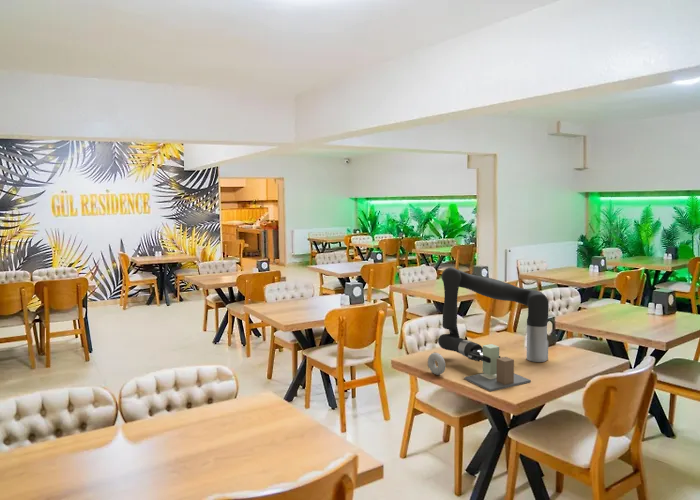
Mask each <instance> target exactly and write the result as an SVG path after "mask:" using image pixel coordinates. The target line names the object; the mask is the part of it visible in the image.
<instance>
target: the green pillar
mask: <svg viewBox="0 0 700 500" xmlns="http://www.w3.org/2000/svg"><path fill="white" fill-rule="evenodd" d="M482 348H483V355H484V356H486V357H489V358H491V363H487V362H485V361H482V373H486V374H488V375H494V374H497V358H499V356H500V346H498V345H496V344H493V343H490V344H484V345H482Z"/></svg>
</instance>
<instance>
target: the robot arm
mask: <svg viewBox="0 0 700 500" xmlns="http://www.w3.org/2000/svg"><path fill="white" fill-rule="evenodd" d="M441 281H442V282H443V291H444V300H443V301H444V302H443V308H442V324H441V325H442V328H444V329H445V330H448V331H449V333H444V334H443V333H442V334H441V335H440V336H438V339H437V342H438V345H439V347H440V348H441V349H443V350H446V351H451V352H456V353H458V354H460V355H462V356H463V357H465V358H467V359H468V360H472V361H474V362H475V361H476V362H480V361H481V362H483V361H485V362H487V363H491V358H489V357H486V356H484V355H483V345H481V344H480V343H477V342H473V341H472V340H467V339H464V338H462V337H460V333H459V329H458V295H459V288H463V289H467V290H470V291H471V292H474V293H475V294H479V295H481V296H484V297H487V298H491V299H494V300H497V301H505V302H506V301H507V302H508V301H509V302H515V303H518V304H521V305H523V306H527V308H528V309H527V319H526V360H527V361H529V362H533V363H544V362H547V360H549V339H548V320H549V310H550V309H549V308H550V307H549V306H550V304H549V299H548V297H547V296H546V295H545V294H544V293H543V292H542V291H539V290H535V289H528V288H524V287H518V286H515V285H513V284H511V283H509V282H504V281H502V280H498V279H494V278H491V277H486V276H482V275H475V274H474V275H473V274H470V273H467V272H464V271H462V270H459V269H458V268H455V267H452V266H451V267H447V268H445V269H444V270H443V271H442V272H441ZM499 358H501V355H499Z"/></svg>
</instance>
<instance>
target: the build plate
mask: <svg viewBox="0 0 700 500" xmlns="http://www.w3.org/2000/svg"><path fill="white" fill-rule="evenodd" d="M500 357H501V356H500ZM463 378H464V379H463V380H465V381H468V382H470V383H472V384H474V385H476V386H477V387H480V388H482V389H484V390H486V391H488V392H494V391H499V390H503V389H508V388H511V387H517V386H521V385H525V384H530V383H531V382H532V381H531V379H530V378H527V377H524V376H521V375H519V374H517V373H515V360H514V358H510V357H508V356H502V357H501V358H497V374H494V375H488V374H486V373H484V372H482V373H477V374H472V375H468V376H463Z"/></svg>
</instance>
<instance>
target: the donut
mask: <svg viewBox="0 0 700 500" xmlns="http://www.w3.org/2000/svg"><path fill="white" fill-rule="evenodd" d="M436 362H437V365H436ZM427 366H428V369H429V370H430V372H431V373H432V374H433V375H435V374H436V375H437V376H440V375H443V373H444V372H445V370H446V360H445V359H444V357H443V355H441V353H439V352H432V353H431V354H430V355H429V356H428V359H427Z"/></svg>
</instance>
